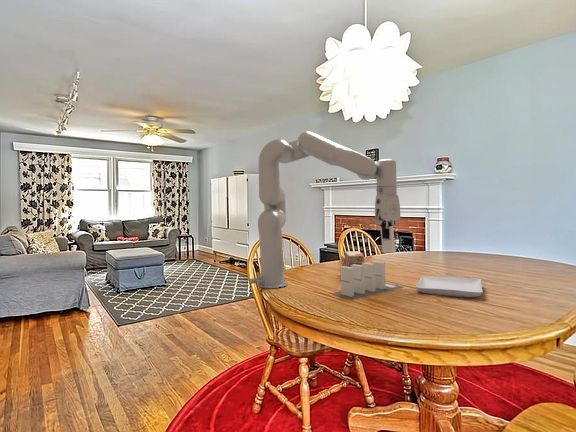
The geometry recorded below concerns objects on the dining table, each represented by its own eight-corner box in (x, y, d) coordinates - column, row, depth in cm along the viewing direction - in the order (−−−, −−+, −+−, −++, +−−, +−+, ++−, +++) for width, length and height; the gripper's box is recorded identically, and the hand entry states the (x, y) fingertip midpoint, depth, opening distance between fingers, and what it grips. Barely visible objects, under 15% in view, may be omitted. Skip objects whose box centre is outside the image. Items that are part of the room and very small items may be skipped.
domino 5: (392, 252, 132) (390, 226, 133) (382, 252, 136) (380, 227, 137) (395, 252, 133) (392, 226, 134) (385, 252, 137) (382, 227, 138)
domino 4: (382, 289, 130) (382, 263, 130) (372, 287, 134) (372, 261, 134) (385, 288, 131) (385, 262, 131) (375, 286, 135) (374, 260, 135)
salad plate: (415, 295, 123) (414, 286, 123) (422, 283, 142) (422, 274, 142) (483, 302, 113) (483, 291, 113) (481, 287, 132) (481, 278, 132)
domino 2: (361, 294, 124) (361, 266, 124) (351, 291, 128) (351, 264, 128) (365, 293, 125) (364, 266, 125) (355, 290, 129) (354, 264, 129)
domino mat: (352, 300, 117) (352, 299, 117) (330, 294, 127) (330, 293, 127) (405, 288, 133) (405, 286, 133) (382, 283, 142) (382, 282, 142)
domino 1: (350, 296, 121) (349, 268, 121) (340, 294, 125) (340, 266, 125) (353, 296, 122) (353, 267, 122) (344, 293, 126) (343, 266, 126)
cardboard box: (341, 274, 162) (341, 248, 161) (355, 274, 162) (354, 248, 161) (349, 285, 140) (348, 255, 140) (365, 285, 140) (364, 255, 140)
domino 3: (372, 291, 127) (371, 264, 127) (362, 289, 131) (361, 263, 131) (375, 291, 128) (375, 264, 128) (365, 288, 132) (365, 262, 132)
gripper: (380, 191, 127) (381, 240, 128) (407, 190, 136) (408, 237, 136) (365, 192, 134) (366, 239, 134) (392, 191, 142) (393, 236, 143)
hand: (387, 238), depth 135 cm, fingers closed on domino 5, 1 cm apart
